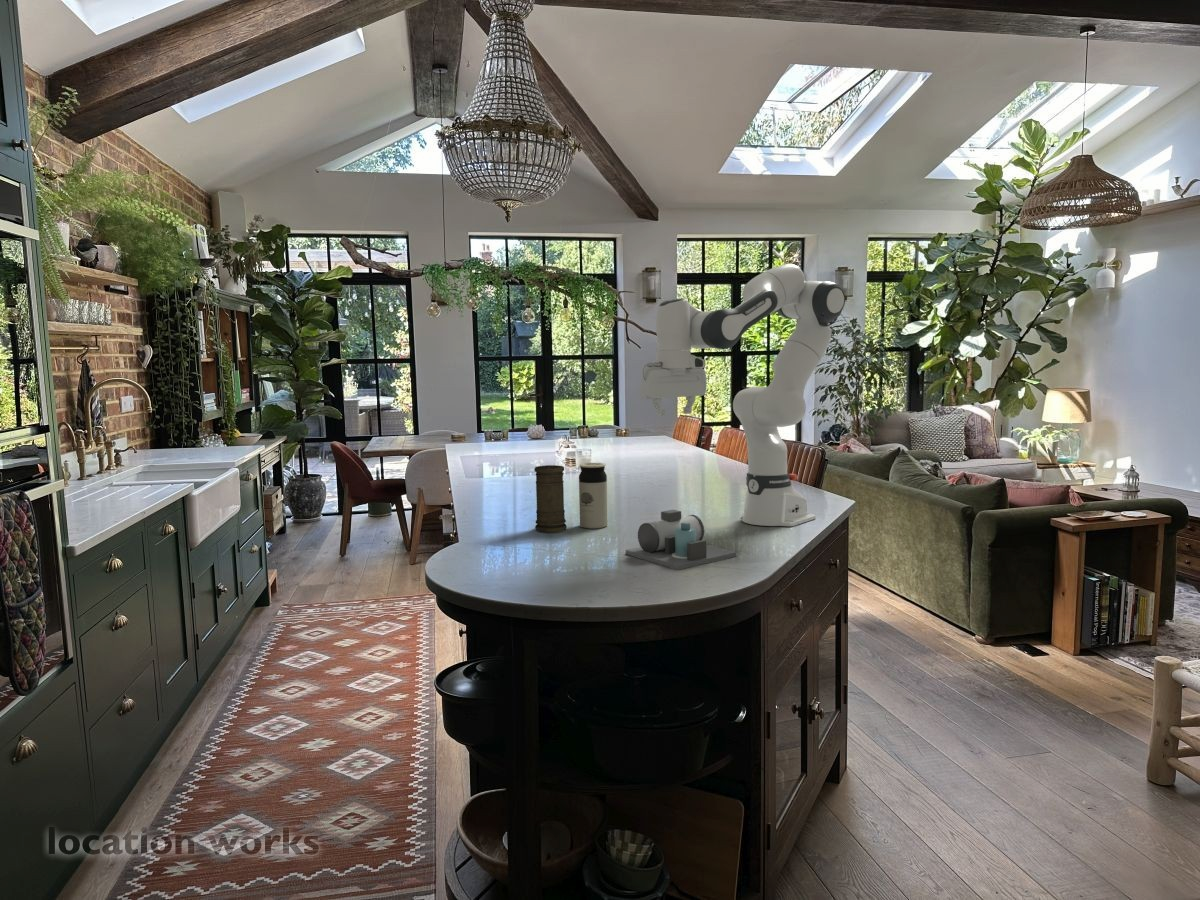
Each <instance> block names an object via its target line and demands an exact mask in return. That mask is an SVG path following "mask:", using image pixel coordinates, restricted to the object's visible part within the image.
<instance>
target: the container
mask: <svg viewBox="0 0 1200 900" xmlns="http://www.w3.org/2000/svg"><path fill="white" fill-rule="evenodd" d="M564 471H565V467H564V466H563V465H557V464H556V465H554V464H553V465H552V464H551V465H549V464H548V465H538V466H535V467H534V473H535V478H536V479H535V485H536V486H535V491H536V493H535V494H536V511H535V513H536V520H535V524H536V525H535V527H534V529H535V531H536V532H539V533H542V532H543V533H545V534H554V533H556V534H557V533H563V532H565V531H567V527H568V526H567V524H566V523H567V520H566V518H565V503H564V502H565V498H564V495H565V493H564V491H565V490H564V474H565V473H564Z"/></svg>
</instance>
